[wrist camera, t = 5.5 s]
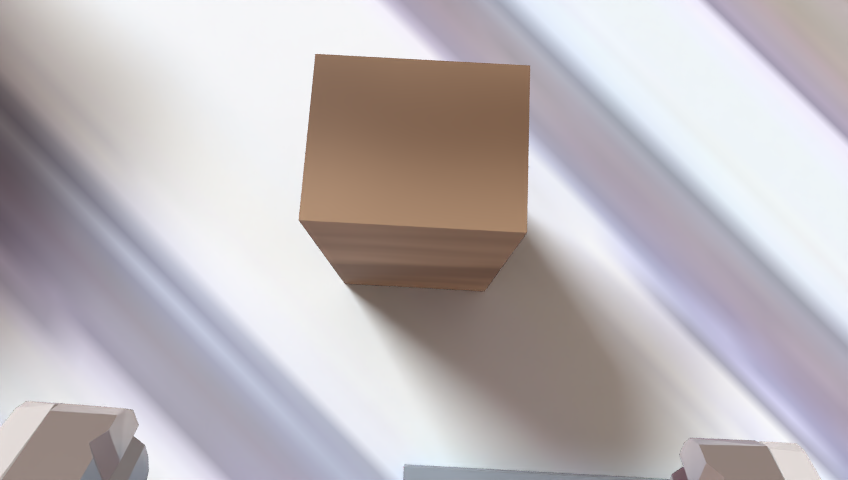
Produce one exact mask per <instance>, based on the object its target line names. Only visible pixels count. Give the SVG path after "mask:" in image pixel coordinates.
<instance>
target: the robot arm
mask: <svg viewBox="0 0 848 480" xmlns="http://www.w3.org/2000/svg"><path fill="white" fill-rule="evenodd" d="M138 426H139V424H138V421H137V419H136V416H135V413H134V411H133V410H131V409H125V408H113V407H101V406H88V405H76V404H64V403H46V402H32V401H26V402H25V403H23V404H21V405H20V406H18V407H17V408H15V409H14V410H13V412H12V413H11V414H10V416H9V417H8V418H7V420H6V421H5V422H4V423H3V425H2V426H1V427H0V480H147V476H148V472H149V467H148V454H147V451H146V447H145V445H144V444H143V443H141V442H140V441H139V440H138V439H137V438H135V437H134V436H133V435H134V434H135V432H136V430H137V428H138ZM679 455H680V458H681V461H682V464H683V466H684V467H682V468H680V469H679V470H677V471H676V472H674V473H673V474H672V475H671V478H670V480H821V478H820V477H819V475H818V473H817V471H816V470H815V468H814V466H813V464H812V463H811V461H810V459H809V458H808V456H807V454H806V452H805V451H804V449H802V448H801V447H800V446H799V445H798V444H797V443H781V442H762V441H761V442H757V441H753V440H728V439H704V438H689V439H688V440H687V441H686V442H685V443H684V444H683V447H682V449H681V452H680V454H679Z"/></svg>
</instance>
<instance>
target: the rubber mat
mask: <svg viewBox="0 0 848 480" xmlns="http://www.w3.org/2000/svg"><path fill="white" fill-rule="evenodd" d="M403 480H670V479H655V478H637V477H619V476H601V475H583V474H565V473H547V472H530V471H512V470H494V469H476V468H458V467H440V466H422V465H404V477H403Z"/></svg>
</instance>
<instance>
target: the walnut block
mask: <svg viewBox="0 0 848 480" xmlns="http://www.w3.org/2000/svg"><path fill="white" fill-rule="evenodd" d="M529 95H530V66H527V65H509V64H490V63H472V62H453V61H435V60H417V59H398V58H380V57H361V56H343V55H324V54H315V64H314V74H313V84H312V94H311V104H310V113H309V123H308V133H307V143H306V153H305V163H304V173H303V183H302V193H301V202H300V212H299V221H300V223H301V224H302V225H303V227H304V228H305V229H306V231H307V232H308V234H309V235H310V236H311V238H312V239H313V241H314V242H315V243H316V245H317V246H318V247H319V249H320V250H321V252H322V253H323V254H324V256H325V257H326V258H327V260H328V261H329V263H330V264H331V265H332V267H333V268H334V269H335V271H336V272H337V274H338V275H339V276H340V278H341V279H342V280H343V282H344V283H345V284H362V285H380V286H398V287H416V288H434V289H452V290H471V291H485V290H486V289H487V287H488V286H489V285H490V283H491V282H492V280H493V279H494V278H495V276H496V275H497V274H498V272H499V271H500V269H501V268H502V267H503V265H504V264H505V262H506V261H507V260H508V258H509V257H510V255H511V254H512V253H513V251H514V250H515V248H516V247H517V246H518V244H519V243H520V242H521V240H522V239H523V237H524V236H525V235H526V233H527V200H528V147H529Z"/></svg>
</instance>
